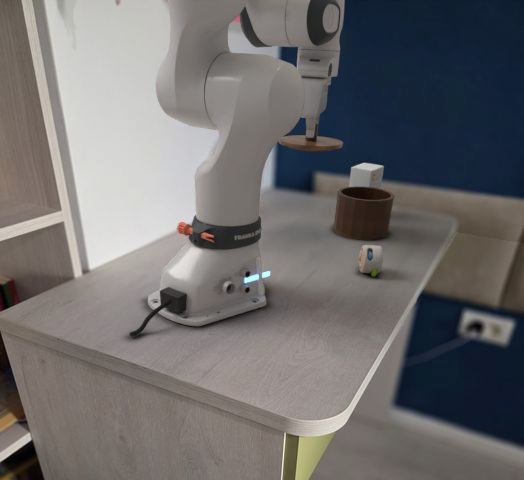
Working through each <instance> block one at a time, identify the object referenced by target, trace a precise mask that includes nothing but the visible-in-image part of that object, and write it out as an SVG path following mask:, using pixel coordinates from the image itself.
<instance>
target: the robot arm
mask: <svg viewBox="0 0 524 480" xmlns="http://www.w3.org/2000/svg"><path fill="white" fill-rule="evenodd" d="M345 1H346V0H167V5H168V12H169V23H170V24H169V25H170V26H169V27H170V30H169V31H170V33H169V45H168V50H167V52H166V55H165V57H164V59H163V60H162V62H161V63H160V65H159V66H158V69H157V73H156V76H155V93H156V98H157V101H158V104H159V106H160V108H161V110H162V111H163V113H165V114H166V116H168V117H170V118H172V119H174V120H176V121H178V122H181V123H183V124H184V125H187V126H189V127H193V128H199V129H206V130H211V131H217V132H218V140H217V141H218V142H217V145H216V149H215V152H214V154H213V155H211V156H209V157H207V158H206V159H204V161H202V162H201V163H200V164H199V165H198V166H197V168H196V170H195V173H194V197H195V199H194V201H195V203H194V204H195V215H194V216H193V219H192V222H191V224H189V223H186V222H184V221H180V222H178V223H177V225H176V231H177V232H178V234H180V235H184V236H186V237H187V239H188V240H187V241H186V243H185V244H184V245H183V246H182V247H181V248H180V249H179V251H178V252H177V253H176V254H175V255H174V256H173V257H172V258H171V260H170V261H169V262H168V263H167V264H166V265H165V266H164V267H163V268H162V270H161V274H160V282H159V289H158V290H156V291H154V292H152V293H151V294H148V296H147V304H148V306H149V308H150V309H152V311H151V312H150V313H149V314H148V315H147V316H146V317H145V318H144V320H143V322H142V323H141V325H140V326H139V327H138V328H137V329H136V330H133V331H131V332H129V336H130V337H131V338H132V337H135V336H137V335H139V334H141V333H142V332H144V330H145V329H146V327H147V325H148V324H149V322H150V321H151V319H152V318H153V317H155V315H157V314H158V315H159V316H161V317H164V318H165V319H168V320H170V321H172V322H174V323H178V324H181V325H185V326H191V327H202V326H205V325H208V324H212V323H214V322H218V321H221V320H225V319H227V318H231V317H235V316H237V315H241V314H244V313H247V312H250V311H254V310H257V309H260V308H263V307H266V306H267V298H266V295H265V294H266V288H265V285H264V284H265V283H264V278H267V277H270V276H271V270H268V271H264V272H263V265H262V257H261V251H260V243H259V242H260V240H261V237H262V229H263V227H262V218H261V216H260V203H261V190H262V189H261V186H262V178H263V173H264V168H265V166H266V163H267V160H268V158H269V156H270V154H271V152H272V150H273V149H274V148H275V146H276V145H277V143H279V140H280V139H281V138H282V137H284V136H286V135H287V134H289V133H290V132H291V131H292V130H293V129H294V128H295V127H296V125H297V124H298V123H299V121H300V119H301V118H302V119H305V129H306V130H305V136H306V137H307V138H313V137H314V136H315V124H318V125H319V122H320V116H321V115H322V113H324V111H325V110H327V103H328V93H329V91H328V90H329V86H331V84H332V78H334V77H335V78H336V77H338V73H339V65H340V54H341V44H340V39H341V38H340V36H341V33H342V31H343V27H344V18H345ZM238 17H239V23H240V28H241V31H242V34H243V35H244V37H245V38H246V39H247V41H248V42H249V43H250V45H252V46H253V47H254V48H270V47H271V48H272V47H281V48H282V47H285V48H297V56H296V57H297V59H296V66H295V65H294V64H293V63H291V62H288V61H285V60H282V59H280V58H276V57H274V56H270V55H267V54H262V53H261V54H259V53H247V52H246V53H243V52H232V51H231V50H230V47H229V28H230V24H231V23H232V22H234V21H235V20H236V19H237V18H238Z"/></svg>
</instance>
